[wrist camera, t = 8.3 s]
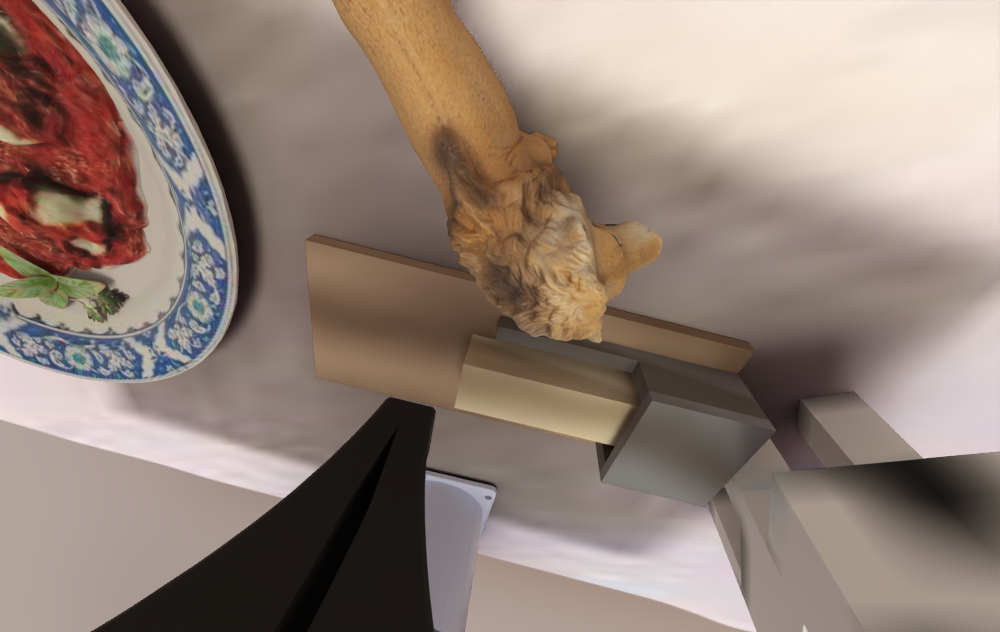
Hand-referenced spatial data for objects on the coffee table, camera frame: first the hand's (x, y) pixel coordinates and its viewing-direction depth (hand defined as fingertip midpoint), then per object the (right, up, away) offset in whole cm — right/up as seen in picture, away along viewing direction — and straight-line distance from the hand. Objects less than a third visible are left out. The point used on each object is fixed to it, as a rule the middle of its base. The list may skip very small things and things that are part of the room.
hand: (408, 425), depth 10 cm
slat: (+7, 0, +10) cm, 12 cm away
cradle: (+3, +1, +10) cm, 11 cm away
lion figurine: (+3, +12, +4) cm, 13 cm away
